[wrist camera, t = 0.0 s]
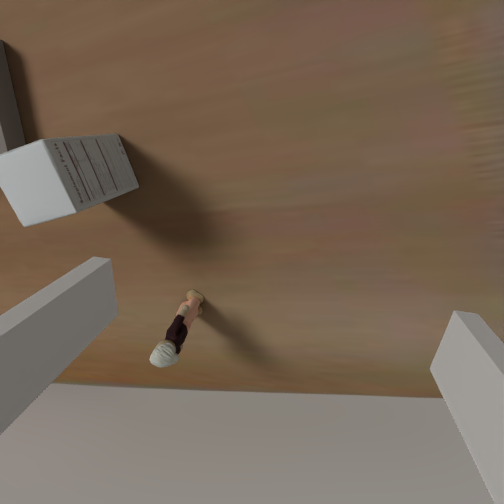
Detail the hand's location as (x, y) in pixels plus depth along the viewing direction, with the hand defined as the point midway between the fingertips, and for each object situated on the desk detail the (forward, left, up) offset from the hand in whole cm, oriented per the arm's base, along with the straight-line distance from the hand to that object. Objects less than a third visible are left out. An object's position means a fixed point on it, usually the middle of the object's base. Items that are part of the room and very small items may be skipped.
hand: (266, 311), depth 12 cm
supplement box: (+1, -25, -28) cm, 38 cm away
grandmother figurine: (+21, -13, -28) cm, 37 cm away
